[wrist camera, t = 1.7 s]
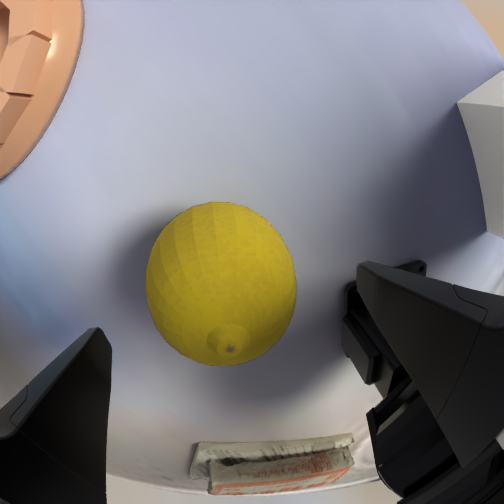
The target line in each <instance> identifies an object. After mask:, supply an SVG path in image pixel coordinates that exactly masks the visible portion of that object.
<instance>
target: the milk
mask: <svg viewBox="0 0 504 504" xmlns="http://www.w3.org/2000/svg"><path fill="white" fill-rule="evenodd" d="M456 103H457V105H458V108H459V111H460V113H461V116H462V119H463V122H464V125H465V128H466V131H467V135H468V138H469V141H470V145H471V148H472V152H473V156H474V160H475V164H476V168H477V173H478V177H479V182H480V187H481V192H482V198H483V204H484V210H485V217H486V225H487V231H488V232H491V233H493V234H495V235H497V236H499V237H501V238H503V239H504V70H502V71H501V72H499V73H498V74H496V75H495V76H493V77H492V78H491V79H489V80H488V81H486V82H485V83H483V84H482V85H480V86H479V87H478V88H476V89H475V90H473V91H472V92H470V93H469V94H468V95H466V96H465V97H463V98H462V99H460V100H459V101H458V102H456Z"/></svg>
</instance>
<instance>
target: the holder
mask: <svg viewBox="0 0 504 504" xmlns="http://www.w3.org/2000/svg"><path fill="white" fill-rule="evenodd" d="M83 32H84V6H83V1H82V0H0V179H2V178H3V177H5V176H6V175H8V174H9V173H10V172H12V171H13V170H14V169H15V168H16V167H17V166H18V165H19V164H20V163H22V162H23V160H24V159H25V158H26V157H27V156H28V155H29V153H30V152H31V151H32V150H33V149H34V147H35V146H36V144H37V143H38V142H39V140H40V139H41V138H42V136H43V135H44V133H45V131H46V130H47V128H48V126H49V125H50V123H51V122H52V120H53V118H54V116H55V114H56V112H57V110H58V108H59V107H60V105H61V102H62V100H63V98H64V96H65V94H66V91H67V89H68V87H69V84H70V81H71V79H72V76H73V74H74V71H75V67H76V64H77V61H78V58H79V54H80V49H81V45H82V40H83Z"/></svg>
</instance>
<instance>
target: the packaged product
mask: <svg viewBox="0 0 504 504" xmlns="http://www.w3.org/2000/svg"><path fill="white" fill-rule="evenodd" d="M351 443H354V435H353V433H347V434H342V435H336V436H329V437H320V438H310V439H301V440H288V441H270V442H236V443H227V442H199V444H198V446H197V449H196V452H195V456H194V459H193V462H192V464H191V467H190V479H205V480H210V481H209V486H208V489H207V491H208V493H209V494H212V495H249V494H266V493H267V494H268V493H275V492H284V491H293V490H300V489H306V488H312V487H317V486H322V485H327V484H330V483H333V482H335V481H336V480H338V479H339V478H340V477H341V476H342V475H344V474H345V473H346V472H347V471H348V470H350V469H351V468H352V467H353V465H354V461H353V458H352V457H351V455H350V450H349V448H348V447H349V445H350V444H351Z"/></svg>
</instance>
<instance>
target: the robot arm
mask: <svg viewBox="0 0 504 504" xmlns="http://www.w3.org/2000/svg"><path fill="white" fill-rule="evenodd" d="M426 268H427V265H426V263H425V262H423V261H422V260H418V261H415V262H412V263H409V264H406V265H404V266H401V267H398V268H392V267H389V266H385V265H381V264H377V263H374V262H370V261H366V262H363V263H360V264H358V265H357V281H356V282H352V283H350V284H348V285H347V286H346V288H345V292H344V293H345V315H344V316H343V318H342V346H343V348H344V353H345V355H346V356H347V357H348V358H350V359H351V361H352V362H353V364H354V366H355V367H356V369H357V371H358V372H359V374H360V376H361V378H362V379H363V381H364V383H365V384H367V385H371V384H375V386H376V388H377V389H378V391H379V392H380V394H381V396H382V397H383V400H382V401H381V402H380V403H379V404H378V405H377V406H376V407H375V408H372V409H371V410H370V411H369V412H367V414H366V416H367V421H368V426H369V431H370V436H371V442H372V447H373V453H374V458H375V464H376V469H377V472H378V475H379V477H380V479H381V480H382V481H383V483H384V484H385V485H386V486H387V487H388V488H389V489H390V490H392V491H393V492H394V493H396V494H397V495H398V496H400V497H401V498H403V499H401V500H400V501H398V502H397V504H504V296H500V295H495V294H490V293H486V292H481V291H477V290H473V289H469V288H465V287H462V286H458V285H455V284H453V285H452V284H451V283H447V282H444V281H440V280H437V279H433V278H429V277H426ZM354 289H355V290H354ZM352 290H354V292H352ZM351 292H352V293H351ZM111 369H112V347H111V344H110V343H109V341H108V339H107V338H106V336H105V334H104V332H103V331H102V329H101V328H99V327H96V328H90V329H88V330H87V331H86V332H85V333H84V334H83V335H82V336H80V337H79V338H78V339H77V340H76V341H75V342H74V343H72V344H71V345H70V346H69V347H68V348H67V349H66V350H65V351H63V352H62V353H61V354H60V355H59V356H58V357H57V358H56V359H55V360H53V361H52V362H51V363H50V364H49V365H48V366H47V367H46V368H45V369H44V370H43V371H41V372H40V373H39V374H38V375H37V376H36V377H35V378H34V379H33V380H32V381H31V382H30V383H29V385H26V386H25V387H24V388H23V389H22V390H21V391H20V392H19V393H18V394H17V395H16V396H15V397H14V398H13V399H11V400H10V401H9V402H8V403H7V404H6V405H5V406H4V407H2V408H1V409H0V504H107V499H106V445H107V427H108V414H109V403H110V393H111Z"/></svg>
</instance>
